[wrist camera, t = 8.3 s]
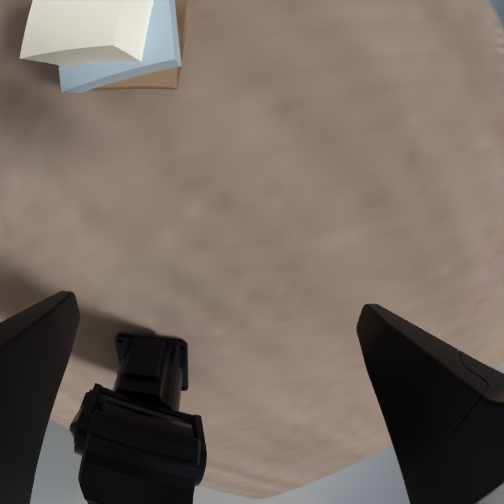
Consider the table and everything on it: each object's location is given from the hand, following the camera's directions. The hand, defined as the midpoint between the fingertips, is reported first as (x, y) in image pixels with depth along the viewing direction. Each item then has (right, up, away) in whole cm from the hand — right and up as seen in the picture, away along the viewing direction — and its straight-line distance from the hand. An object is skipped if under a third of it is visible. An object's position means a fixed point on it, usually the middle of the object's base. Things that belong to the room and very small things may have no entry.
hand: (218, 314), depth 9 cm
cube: (-6, +13, +2) cm, 15 cm away
